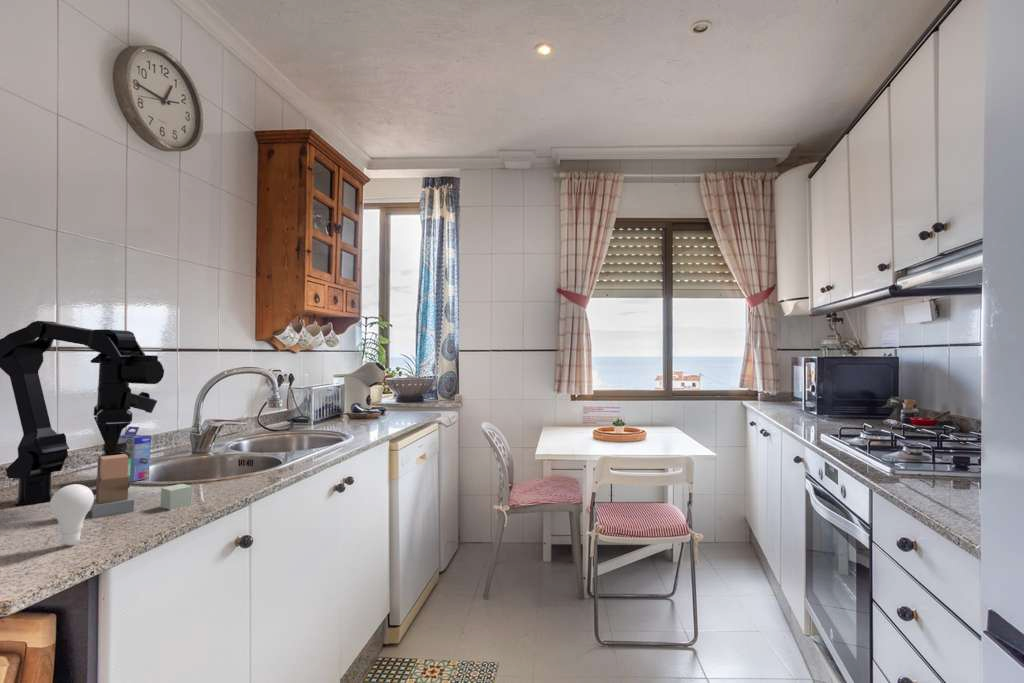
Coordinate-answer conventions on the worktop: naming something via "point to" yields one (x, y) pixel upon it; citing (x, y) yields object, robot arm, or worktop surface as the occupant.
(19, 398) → the robot arm
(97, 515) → the slate base block
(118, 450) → the supplement bottle
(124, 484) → the walnut cube
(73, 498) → the lightbulb
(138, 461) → the ink cartridge box
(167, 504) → the sage block
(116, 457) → the terracotta block
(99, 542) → the worktop surface
